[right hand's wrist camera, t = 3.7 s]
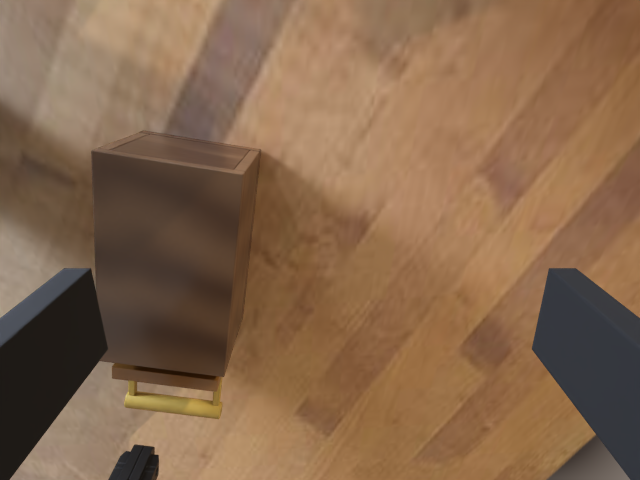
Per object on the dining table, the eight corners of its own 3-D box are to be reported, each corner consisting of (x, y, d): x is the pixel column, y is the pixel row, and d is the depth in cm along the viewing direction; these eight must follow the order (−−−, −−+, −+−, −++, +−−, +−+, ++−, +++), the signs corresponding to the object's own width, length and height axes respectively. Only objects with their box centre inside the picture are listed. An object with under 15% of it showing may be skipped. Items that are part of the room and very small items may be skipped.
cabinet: (242, 317, 43) (224, 377, 35) (141, 303, 43) (98, 361, 34) (261, 149, 37) (243, 173, 29) (143, 130, 36) (90, 149, 28)
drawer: (228, 387, 45) (212, 442, 39) (143, 376, 45) (112, 430, 38) (248, 191, 37) (232, 218, 31) (145, 175, 37) (107, 199, 30)
